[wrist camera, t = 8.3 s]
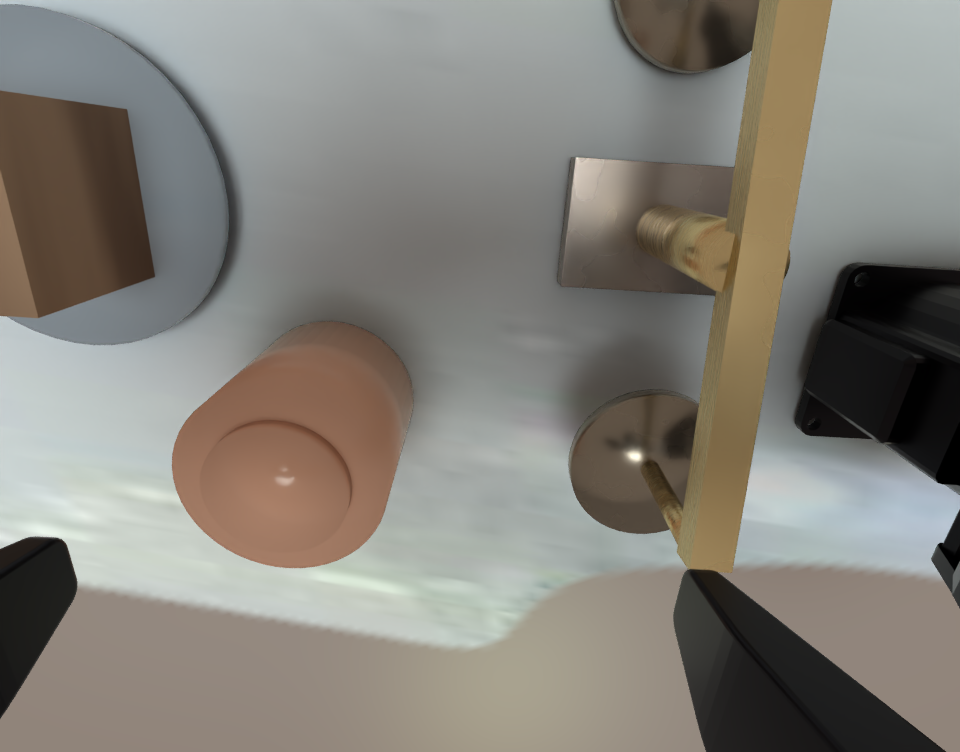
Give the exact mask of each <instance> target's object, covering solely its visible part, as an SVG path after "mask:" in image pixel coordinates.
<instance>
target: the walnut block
mask: <svg viewBox="0 0 960 752" xmlns="http://www.w3.org/2000/svg"><path fill="white" fill-rule="evenodd" d="M154 277H155V272H154V266H153V260H152V254H151V248H150V242H149V236H148V230H147V224H146V219H145V213H144V207H143V201H142V195H141V189H140V183H139V177H138V171H137V165H136V159H135V153H134V147H133V141H132V135H131V129H130V123H129V117H128V111H127V109H123V108H116V107H109V106H102V105H96V104H89V103H82V102H75V101H69V100H62V99H55V98H48V97H41V96H35V95H28V94H21V93H14V92H7V91H1V90H0V316H10V317H26V318H41V317H43V316H46V315H49V314H52V313H55V312H58V311H60V310H63V309H66V308H69V307H72V306H75V305H77V304H80V303H83V302H86V301H89V300H92V299H94V298H97V297H100V296H103V295H106V294H109V293H111V292H114V291H117V290H120V289H123V288H126V287H128V286H131V285H134V284H137V283H140V282H143V281H145V280H148V279H151V278H154Z"/></svg>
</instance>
